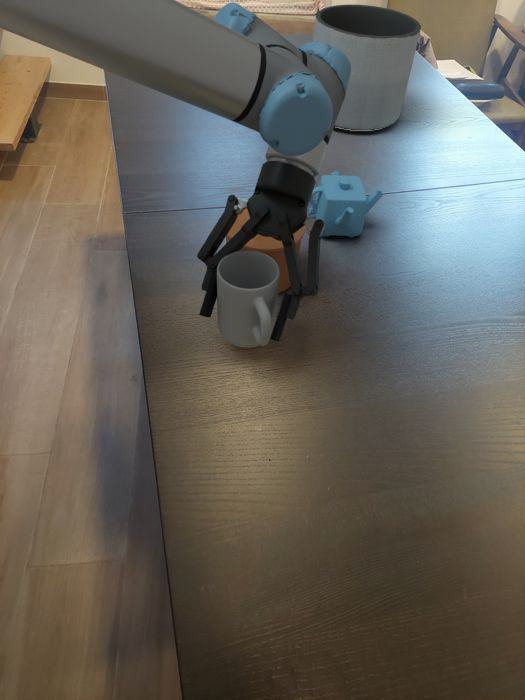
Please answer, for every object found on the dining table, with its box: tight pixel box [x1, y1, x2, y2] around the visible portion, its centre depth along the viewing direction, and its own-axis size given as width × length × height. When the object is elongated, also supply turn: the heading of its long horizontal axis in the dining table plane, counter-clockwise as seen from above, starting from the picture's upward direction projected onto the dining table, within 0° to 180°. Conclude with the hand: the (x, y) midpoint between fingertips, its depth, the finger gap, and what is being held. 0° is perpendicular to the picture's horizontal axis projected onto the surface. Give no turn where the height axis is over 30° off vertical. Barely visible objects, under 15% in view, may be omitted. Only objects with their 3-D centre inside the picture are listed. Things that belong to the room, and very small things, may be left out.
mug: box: [216, 250, 280, 348], centre depth 70 cm, size 12×8×11 cm
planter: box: [312, 4, 422, 133], centre depth 128 cm, size 25×25×22 cm
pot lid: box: [227, 209, 306, 252], centre depth 82 cm, size 13×13×4 cm
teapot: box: [307, 170, 384, 238], centre depth 97 cm, size 18×14×10 cm
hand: (239, 328), depth 70 cm, fingers closed on mug, 10 cm apart
